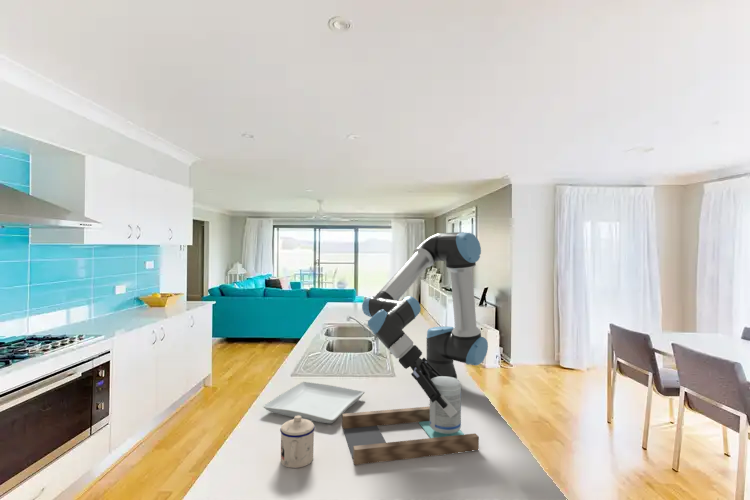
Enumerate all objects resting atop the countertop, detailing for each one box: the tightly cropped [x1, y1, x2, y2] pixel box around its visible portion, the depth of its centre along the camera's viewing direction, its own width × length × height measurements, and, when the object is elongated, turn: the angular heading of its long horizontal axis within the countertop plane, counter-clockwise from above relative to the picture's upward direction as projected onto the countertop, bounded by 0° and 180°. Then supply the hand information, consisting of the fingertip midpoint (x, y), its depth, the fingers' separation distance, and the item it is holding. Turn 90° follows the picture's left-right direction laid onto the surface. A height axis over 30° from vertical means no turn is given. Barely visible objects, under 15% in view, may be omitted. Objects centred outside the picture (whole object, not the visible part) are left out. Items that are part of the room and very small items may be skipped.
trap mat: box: [342, 426, 387, 460], centre depth 114 cm, size 11×17×1 cm, turn 13°
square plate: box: [262, 381, 365, 424], centre depth 138 cm, size 27×27×4 cm
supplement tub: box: [429, 376, 462, 434], centre depth 119 cm, size 10×10×15 cm
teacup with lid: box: [279, 415, 315, 469], centre depth 102 cm, size 12×9×12 cm
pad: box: [418, 421, 465, 438], centre depth 119 cm, size 11×17×1 cm, turn 13°
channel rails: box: [341, 405, 480, 466], centre depth 117 cm, size 36×22×4 cm, turn 103°
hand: (455, 407), depth 119 cm, fingers closed on supplement tub, 9 cm apart
